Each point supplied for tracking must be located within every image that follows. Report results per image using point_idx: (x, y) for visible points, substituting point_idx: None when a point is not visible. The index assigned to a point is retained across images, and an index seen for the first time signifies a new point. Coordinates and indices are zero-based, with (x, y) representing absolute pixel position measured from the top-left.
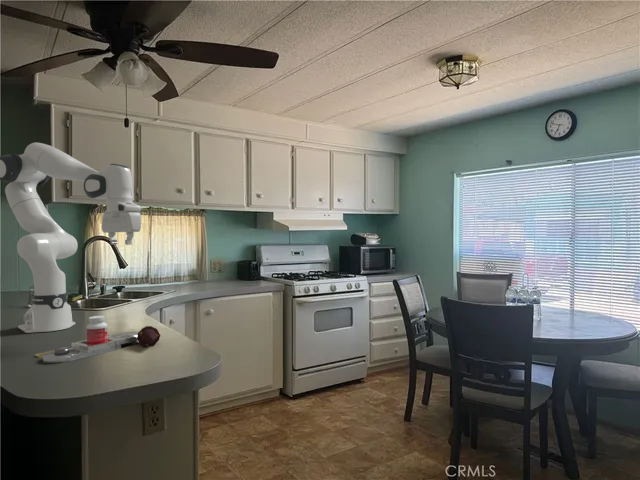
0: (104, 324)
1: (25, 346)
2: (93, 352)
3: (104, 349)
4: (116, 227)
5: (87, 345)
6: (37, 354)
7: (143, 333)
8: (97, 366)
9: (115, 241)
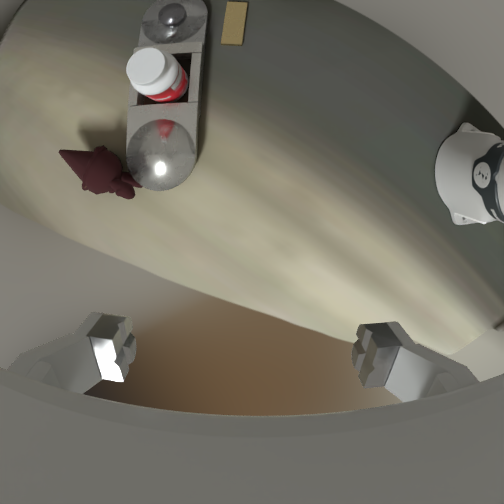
0: (131, 81)
1: (353, 37)
2: None
3: None
4: (232, 486)
5: None
6: (238, 2)
7: (89, 155)
8: (77, 46)
9: (363, 364)
